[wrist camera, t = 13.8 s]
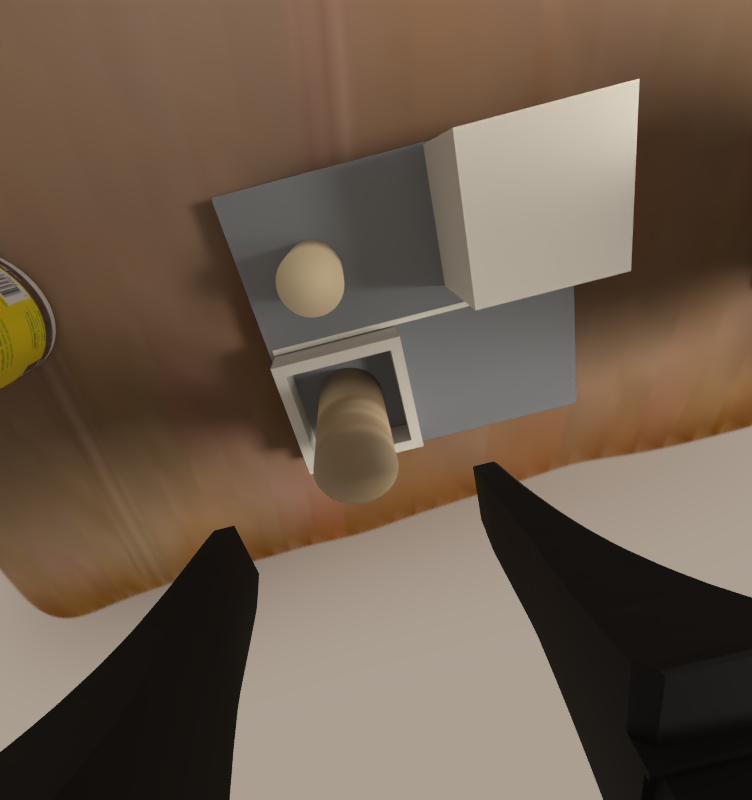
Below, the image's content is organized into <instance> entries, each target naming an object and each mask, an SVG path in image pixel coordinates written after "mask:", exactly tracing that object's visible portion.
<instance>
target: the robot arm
mask: <svg viewBox="0 0 752 800" xmlns="http://www.w3.org/2000/svg"><path fill="white" fill-rule="evenodd" d="M473 469H474V476H475V482H476V488H477V495H478V501H479V507H480V514H481V519H482V522H483V525H484V527H485V530H486V533H487V535H488V538H489V540H490V543H491V545H492V548H493V550H494V552H495V554H496V556H497V558H498V560H499V562H500V564H501V566H502V568H503V569H504V571H505V573H506V575H507V577H508V579H509V581H510V583H511V585H512V587H513V589H514V590H515V592H516V594H517V596H518V598H519V600H520V602H521V604H522V606H523V607H524V609H525V611H526V613H527V615H528V617H529V619H530V621H531V623H532V625H533V627H534V629H535V631H536V633H537V635H538V637H539V639H540V642H541V644H542V647H543V649H544V652H545V654H546V656H547V659H548V661H549V664H550V666H551V668H552V671H553V673H554V675H555V678H556V680H557V683H558V685H559V688H560V690H561V693H562V695H563V698H564V700H565V703H566V705H567V707H568V710H569V712H570V715H571V717H572V720H573V723H574V725H575V728H576V730H577V733H578V735H579V738H580V741H581V743H582V745H583V748H584V751H585V753H586V756H587V758H588V761H589V763H590V766H591V769H592V771H593V774H594V776H595V779H596V782H597V784H598V787H599V790H600V792H601V795H602V797H603V800H752V598H751V597H748V596H745V595H742V594H739V593H736V592H732V591H729V590H726V589H723V588H720V587H717V586H714V585H711V584H708V583H705V582H703V581H700V580H697V579H695V578H692V577H690V576H687V575H684V574H682V573H679V572H676V571H674V570H671V569H669V568H667V567H664V566H662V565H659V564H657V563H655V562H653V561H650V560H648V559H646V558H644V557H641V556H639V555H637V554H635V553H633V552H631V551H628V550H626V549H624V548H622V547H620V546H618V545H616V544H614V543H612V542H610V541H608V540H607V539H605V538H603V537H601V536H599V535H597V534H595V533H594V532H592V531H590V530H588V529H586V528H585V527H583V526H582V525H580V524H579V523H577V522H575V521H574V520H572V519H570V518H569V517H567V516H566V515H564V514H563V513H561V512H560V511H558V510H557V509H555V508H554V507H552V506H551V505H550V504H548V503H547V502H545V501H544V500H543V499H541V498H540V497H538V496H537V495H536V494H534V493H533V492H532V491H530V490H529V489H528V488H526V487H525V486H524V485H522V484H521V483H520V482H519V481H517V480H516V479H515V478H514V477H513V476H511V475H510V474H509V473H508V472H506V471H505V470H504V469H503V468H502V467H501V466H499V465H498V464H497V463H495V462H490V463H486V464H482V465H478V466H474V467H473ZM258 582H259V573H258V571H257V569H256V567H255V565H254V563H253V561H252V559H251V557H250V555H249V553H248V552H247V550H246V548H245V546H244V544H243V542H242V540H241V538H240V536H239V534H238V532H237V530H236V528H235V526H231V527H227V528H223V529H219V530H215V531H214V532H213V533H212V534H211V535H210V536H209V538H208V539H207V540H206V541H205V543H204V544H203V545H202V546H201V548H200V549H199V550H198V552H197V553H196V554H195V555H194V557H193V558H192V559H191V561H190V562H189V563H188V564H187V566H186V567H185V568H184V570H183V571H182V572H181V573H180V575H179V576H178V577H177V578H176V580H175V581H174V582H173V584H172V585H171V586H170V587H169V589H168V590H167V591H166V592H165V594H164V595H163V596H162V597H161V598H160V599H159V601H158V602H157V603H156V604H155V605H154V607H153V608H152V609H151V610H150V611H149V612H148V614H147V615H146V616H145V617H144V618H143V620H142V621H141V622H140V623H139V624H138V625H137V626H136V628H135V629H134V630H133V631H132V632H131V633H130V634H129V635H128V637H126V639H125V640H124V641H123V642H122V643H121V644H120V645H119V646H118V647H117V648H116V649H115V650H114V651H113V652H112V653H111V654H110V655H109V656H108V657H107V658H106V659H105V660H104V661H103V662H102V663H101V664H100V665H99V666H98V667H97V668H96V669H95V670H94V671H93V672H92V673H91V674H90V675H89V676H88V677H87V678H86V679H84V680H83V681H82V682H81V683H80V684H79V685H78V686H77V687H76V688H75V689H74V690H73V691H71V693H70V694H68V695H67V696H66V697H65V698H64V699H63V700H62V701H61V702H60V703H58V705H56V706H55V707H54V708H53V709H52V710H51V711H49V712H48V713H47V714H46V715H45V716H44V717H42V718H41V719H40V720H39V721H38V722H36V723H35V724H34V725H33V726H32V727H31V728H29V729H28V730H27V731H26V732H24V733H23V734H22V735H21V736H20V737H18V738H17V739H16V740H15V741H14V742H12V743H11V744H10V745H9V746H7V747H6V748H5V749H4V750H2V751H1V752H0V800H230V785H231V774H232V761H233V749H234V739H235V730H236V720H237V710H238V703H239V697H240V691H241V686H242V681H243V676H244V671H245V666H246V661H247V656H248V651H249V645H250V641H251V635H252V630H253V625H254V620H255V615H256V609H257V597H258Z"/></svg>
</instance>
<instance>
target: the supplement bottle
mask: <svg viewBox="0 0 752 800" xmlns="http://www.w3.org/2000/svg"><path fill="white" fill-rule="evenodd" d="M55 336H56V325H55V319H54V315H53V312H52V309H51V307H50V305H49V303H48V301H47V299H46V297H45V296H44V294H43V293H42V291H41V290H40V289H39V287H38V286H37V285H36V284H35V283H34V282H33V281H32V280H31V279H30V278H29V277H28V276H27V275H26V274H25V273H24V272H22V271H21V270H20V269H18V268H17V267H15V266H14V265H12V264H11V263H9V262H7V261H6V260H4V259H2V258H0V389H1V388H3V387H5V386H6V385H8V384H10V383H11V382H13V381H15V380H16V379H18V378H20V377H22V376H23V375H25V374H27V373H28V372H30V371H31V370H33V369H34V368H36V367H37V366H39V365H40V364H41V363H42V362H43V361H44V360H45V359H46V358H47V357H48V355H49V354H50V352H51V350H52V348H53V345H54V342H55Z"/></svg>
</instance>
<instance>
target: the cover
mask: <svg viewBox="0 0 752 800" xmlns="http://www.w3.org/2000/svg"><path fill="white" fill-rule="evenodd" d="M639 79H640V78H639ZM639 79H636V80H632V81H628V82H624V83H620V84H617V85H613V86H609V87H605V88H601V89H598V90H594V91H590V92H586V93H582V94H579V95H575V96H571V97H567V98H563V99H560V100H556V101H552V102H548V103H544V104H541V105H537V106H533V107H529V108H525V109H522V110H518V111H514V112H510V113H507V114H503V115H499V116H495V117H491V118H488V119H484V120H480V121H476V122H472V123H469V124H465V125H461V126H457V127H453V128H451V129H449V130H448V131H446V132H444V133H442V134H441V135H439V136H437V137H435V138H434V139H432V140H430V141H428V142H427V143H425V144H423V147H424V154H425V160H426V167H427V173H428V180H429V186H430V193H431V199H432V205H433V212H434V218H435V225H436V231H437V238H438V244H439V250H440V257H441V263H442V270H443V276H444V283H445V286H446V287H447V288H448V289H450V290H451V291H452V292H453V293H455V294H456V295H457V296H458V297H460V298H461V299H462V300H463V301H464V302H466V303H467V304H468V305H469V306H471V307H472V308H473V309H474V310H480V309H484V308H488V307H492V306H495V305H499V304H503V303H507V302H511V301H515V300H519V299H523V298H527V297H531V296H535V295H539V294H543V293H547V292H551V291H555V290H558V289H562V288H566V287H570V286H574V285H578V284H582V283H586V282H590V281H594V280H598V279H602V278H606V277H610V276H614V275H618V274H621V273H625V272H629V271H631V262H632V239H633V216H634V194H635V171H636V148H637V125H638V102H639Z"/></svg>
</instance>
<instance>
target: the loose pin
mask: <svg viewBox="0 0 752 800" xmlns="http://www.w3.org/2000/svg"><path fill="white" fill-rule="evenodd" d="M313 472H314V478H315V481H316V483H317V485H318V486H319V488H320V489H321V490H322V491H323V492H324V493H325V494H326V495H327V496H329V497H330V498H332V499H334V500H337V501H339V502H343V503H350V504H359V503H365V502H369V501H372V500H375V499H377V498H379V497H380V496H382V495H383V494H385V493H386V492H387V491H388V490H389V489H390V488H391V487H392V485H393V484H394V482H395V480H396V478H397V475H398V460H397V455H396V451H395V447H394V442H393V438H392V434H391V429H390V425H389V421H388V416H387V412H386V408H385V403H384V399H383V395H382V391H381V387H380V385H379V383H378V381H377V380H376V378H375V377H374V376H373V375H372V374H370V373H369V372H367V371H365V370H363V369H359V368H343V369H340V370H337V371H335V372H333V373H332V374H330V375H329V376H328V377H327V378H326V379H325V381H324V382H323V384H322V386H321V389H320V394H319V406H318V418H317V430H316V443H315V455H314V468H313Z"/></svg>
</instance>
